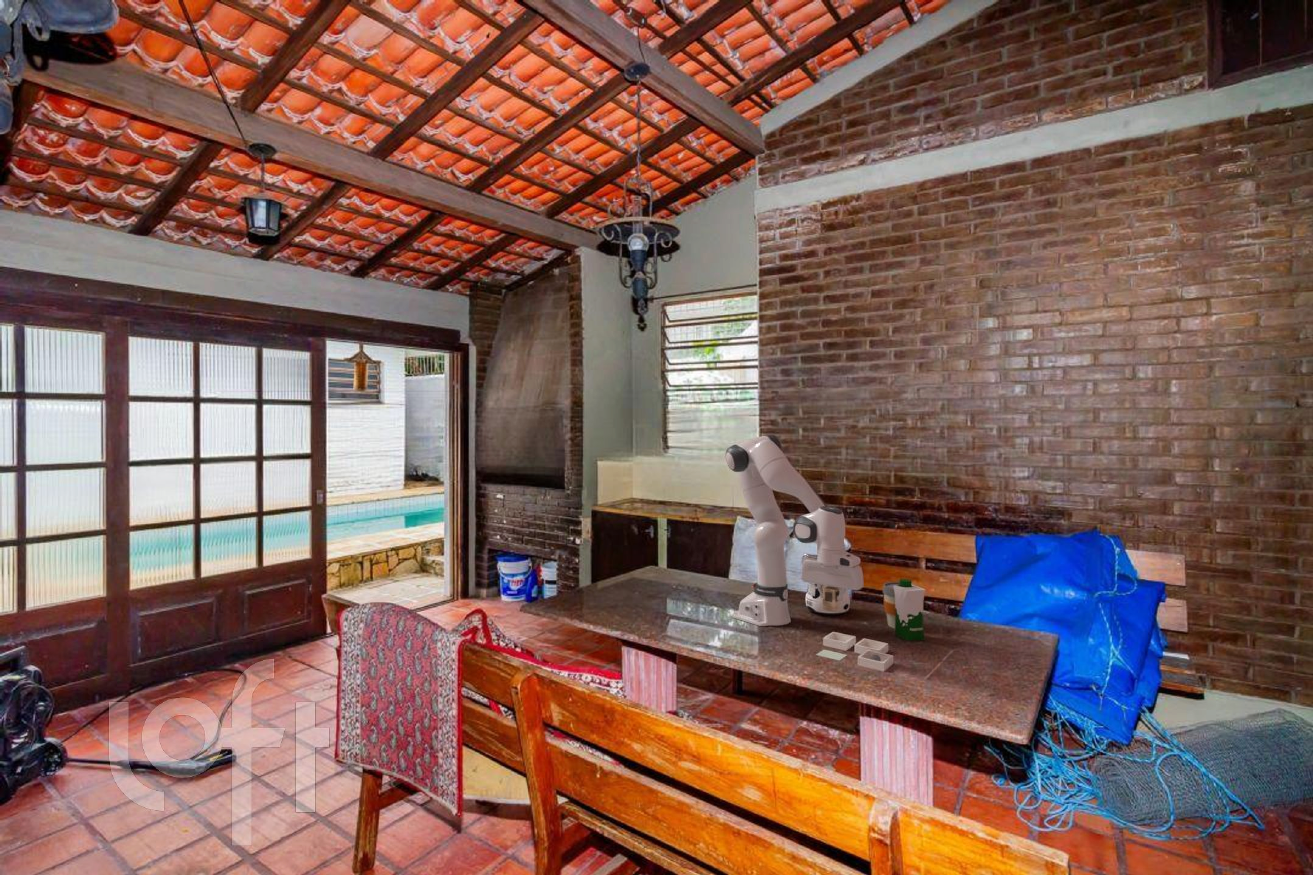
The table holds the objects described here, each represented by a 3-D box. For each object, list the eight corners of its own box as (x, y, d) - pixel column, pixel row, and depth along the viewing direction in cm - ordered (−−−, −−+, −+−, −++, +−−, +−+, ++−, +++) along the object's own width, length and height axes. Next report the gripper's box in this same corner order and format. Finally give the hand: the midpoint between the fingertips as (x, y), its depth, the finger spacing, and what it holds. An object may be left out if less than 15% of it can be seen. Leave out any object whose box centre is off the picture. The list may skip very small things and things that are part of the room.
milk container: (855, 609, 254) (855, 565, 254) (842, 620, 240) (842, 574, 239) (814, 603, 264) (813, 561, 263) (799, 613, 249) (799, 569, 249)
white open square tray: (823, 646, 211) (823, 637, 211) (833, 640, 218) (833, 631, 218) (846, 651, 206) (846, 642, 206) (855, 645, 213) (855, 636, 212)
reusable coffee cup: (919, 622, 236) (919, 583, 236) (918, 632, 225) (918, 591, 225) (884, 618, 242) (884, 580, 241) (881, 628, 230) (881, 588, 230)
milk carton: (911, 632, 225) (911, 577, 225) (928, 640, 216) (928, 583, 216) (890, 635, 223) (890, 579, 222) (907, 643, 214) (907, 585, 214)
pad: (816, 656, 202) (816, 654, 202) (823, 651, 207) (823, 649, 207) (839, 662, 197) (839, 660, 197) (847, 656, 202) (847, 654, 202)
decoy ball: (868, 664, 194) (868, 654, 194) (872, 661, 196) (872, 652, 196) (878, 666, 192) (878, 657, 192) (882, 663, 194) (882, 654, 194)
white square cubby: (854, 653, 204) (854, 644, 204) (863, 647, 211) (863, 638, 211) (879, 659, 199) (879, 650, 199) (888, 652, 206) (888, 643, 205)
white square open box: (857, 666, 194) (857, 656, 193) (867, 658, 200) (867, 649, 200) (884, 672, 188) (884, 663, 188) (893, 664, 195) (893, 655, 195)
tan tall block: (822, 609, 202) (822, 588, 202) (828, 607, 205) (827, 585, 205) (834, 612, 199) (834, 590, 199) (840, 609, 202) (839, 587, 202)
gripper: (797, 554, 206) (797, 596, 206) (857, 562, 193) (857, 606, 193) (806, 551, 211) (806, 592, 211) (865, 559, 198) (865, 602, 198)
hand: (831, 599), depth 202 cm, fingers closed on tan tall block, 4 cm apart
